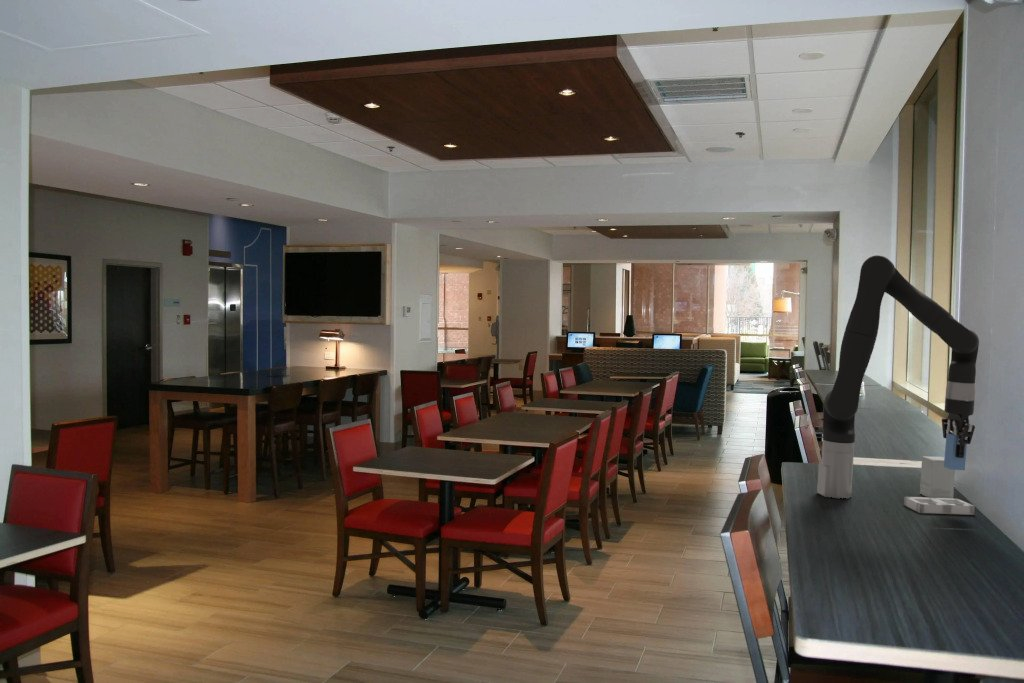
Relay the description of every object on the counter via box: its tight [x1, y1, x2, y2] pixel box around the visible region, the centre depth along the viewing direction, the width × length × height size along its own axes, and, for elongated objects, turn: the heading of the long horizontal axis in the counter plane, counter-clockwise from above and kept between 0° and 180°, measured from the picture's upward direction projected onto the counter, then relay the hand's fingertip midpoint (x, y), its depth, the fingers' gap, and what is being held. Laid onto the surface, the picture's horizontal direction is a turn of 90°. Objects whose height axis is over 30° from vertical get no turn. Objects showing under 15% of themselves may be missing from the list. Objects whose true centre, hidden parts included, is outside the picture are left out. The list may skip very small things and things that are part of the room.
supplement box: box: [919, 455, 956, 498], centre depth 265 cm, size 7×7×13 cm
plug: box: [944, 432, 968, 471], centre depth 246 cm, size 4×4×11 cm
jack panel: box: [903, 496, 975, 516], centre depth 247 cm, size 16×9×3 cm, turn 91°
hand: (955, 455), depth 246 cm, fingers closed on plug, 4 cm apart
